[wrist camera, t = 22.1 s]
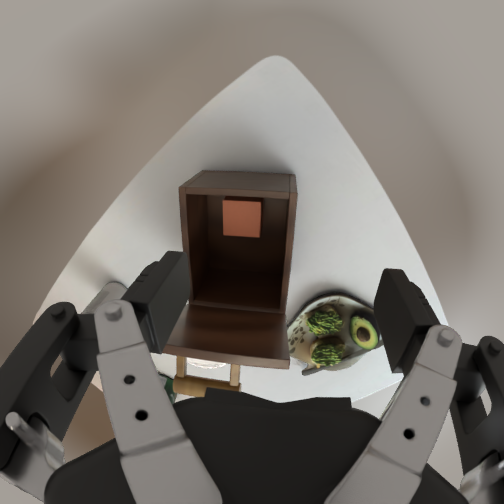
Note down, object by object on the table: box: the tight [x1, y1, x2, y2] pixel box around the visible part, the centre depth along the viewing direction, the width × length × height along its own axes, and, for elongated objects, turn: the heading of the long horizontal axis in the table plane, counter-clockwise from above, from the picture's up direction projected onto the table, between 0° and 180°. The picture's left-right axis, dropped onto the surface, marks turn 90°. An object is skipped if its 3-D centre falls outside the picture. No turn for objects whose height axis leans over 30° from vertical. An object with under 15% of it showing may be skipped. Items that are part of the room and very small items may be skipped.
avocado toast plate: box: [287, 293, 384, 376], centre depth 47 cm, size 19×18×5 cm
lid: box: [162, 304, 290, 397], centre depth 28 cm, size 16×13×5 cm
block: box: [223, 196, 264, 237], centre depth 37 cm, size 5×5×5 cm
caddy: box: [179, 170, 298, 314], centre depth 37 cm, size 16×13×9 cm
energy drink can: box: [81, 282, 127, 314], centre depth 43 cm, size 6×6×15 cm
